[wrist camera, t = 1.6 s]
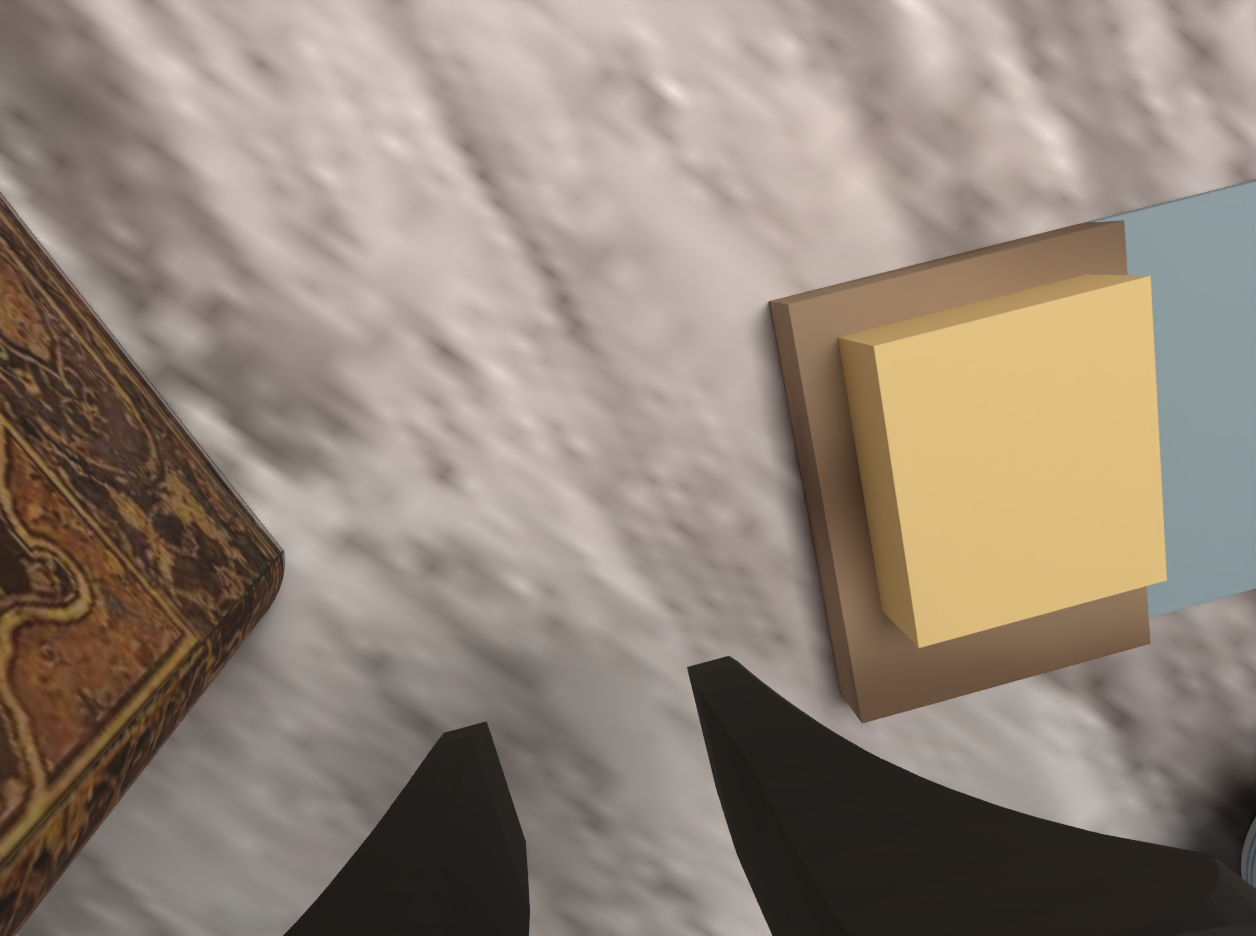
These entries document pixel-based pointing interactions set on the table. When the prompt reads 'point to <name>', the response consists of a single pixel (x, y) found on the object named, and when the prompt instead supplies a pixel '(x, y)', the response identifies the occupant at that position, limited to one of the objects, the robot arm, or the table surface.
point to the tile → (1010, 454)
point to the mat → (1203, 386)
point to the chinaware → (1249, 856)
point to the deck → (819, 409)
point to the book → (99, 571)
